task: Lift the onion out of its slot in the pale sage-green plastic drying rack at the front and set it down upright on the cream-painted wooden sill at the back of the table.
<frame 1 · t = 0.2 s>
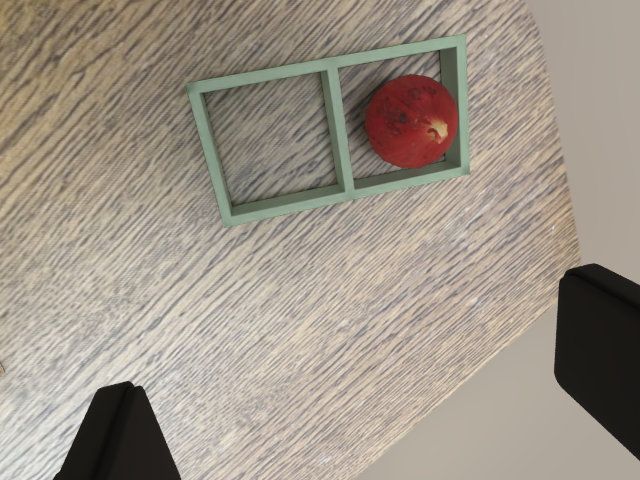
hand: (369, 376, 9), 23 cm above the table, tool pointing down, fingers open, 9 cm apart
drying rack: (333, 129, 30), on the table
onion: (390, 117, 31), resting in drying rack
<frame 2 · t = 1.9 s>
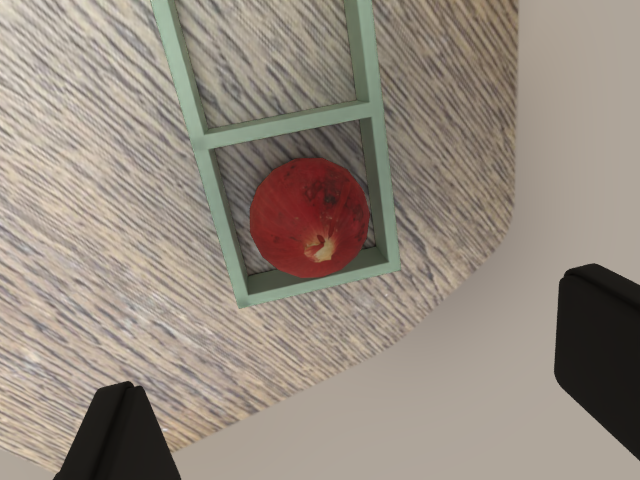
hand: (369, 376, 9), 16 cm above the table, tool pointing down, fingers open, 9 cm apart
drying rack: (285, 121, 22), on the table
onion: (299, 197, 24), resting in drying rack
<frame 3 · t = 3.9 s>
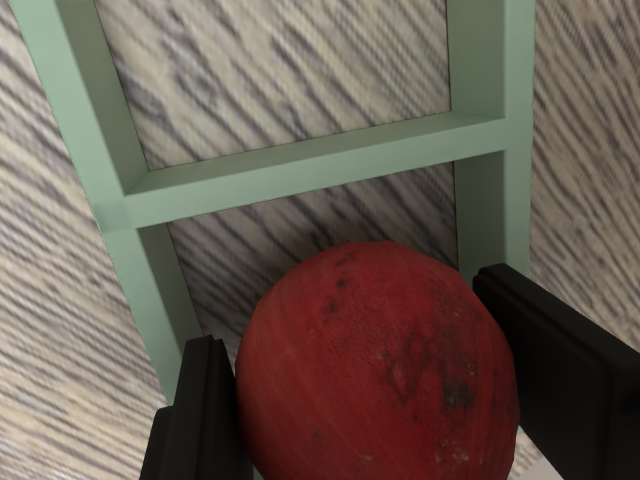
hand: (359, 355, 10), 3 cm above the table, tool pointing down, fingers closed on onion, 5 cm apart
drying rack: (308, 153, 11), on the table
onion: (332, 292, 13), resting in drying rack, touching gripper
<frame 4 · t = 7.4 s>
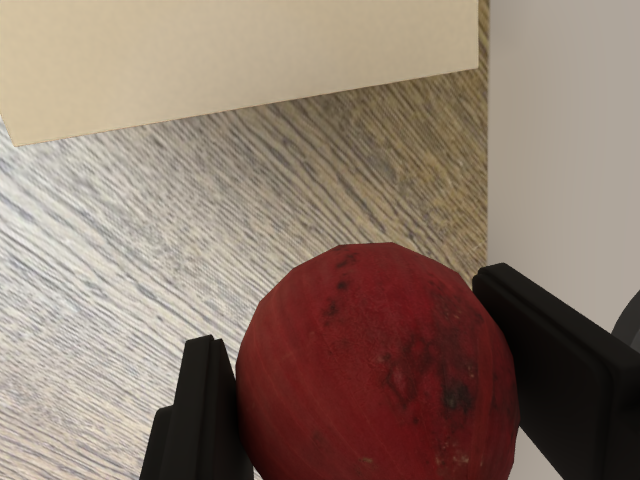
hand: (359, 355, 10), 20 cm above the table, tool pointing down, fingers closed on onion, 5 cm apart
windowsill: (236, 4, 24), on the table
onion: (332, 294, 13), point 16 cm above the table, touching gripper
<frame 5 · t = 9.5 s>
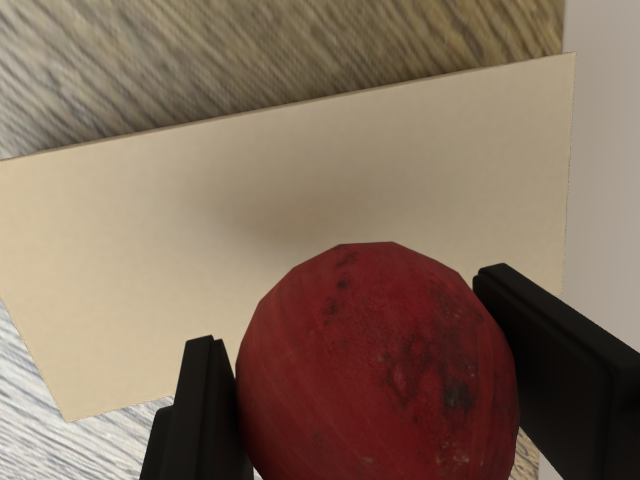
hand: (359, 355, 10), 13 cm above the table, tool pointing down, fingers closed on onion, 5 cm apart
windowsill: (290, 203, 22), on the table
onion: (332, 293, 13), point 10 cm above the table, touching gripper
when the fingers open (9 cm above the table, at t = 11.0 s): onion stays where it is, resting on windowsill.
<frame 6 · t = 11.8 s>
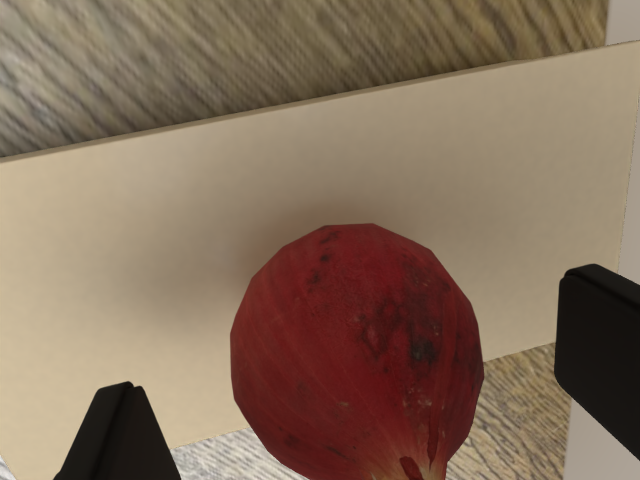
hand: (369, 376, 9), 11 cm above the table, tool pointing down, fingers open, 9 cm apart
windowsill: (292, 218, 19), on the table
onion: (321, 276, 14), point 6 cm above the table, touching windowsill
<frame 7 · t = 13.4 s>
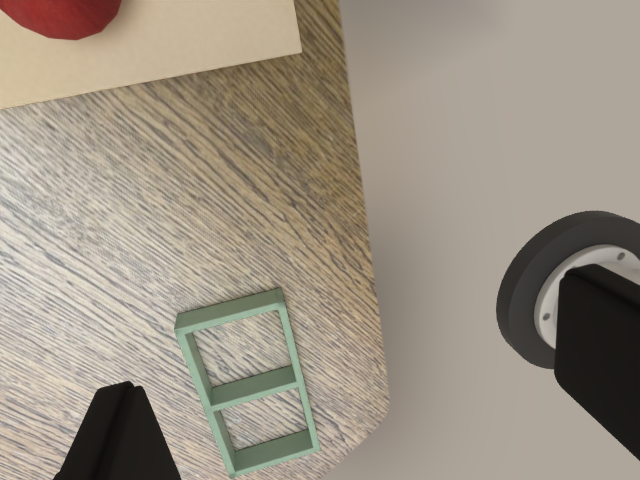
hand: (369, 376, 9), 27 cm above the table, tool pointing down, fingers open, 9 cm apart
windowsill: (107, 2, 28), on the table
drying rack: (253, 378, 41), on the table
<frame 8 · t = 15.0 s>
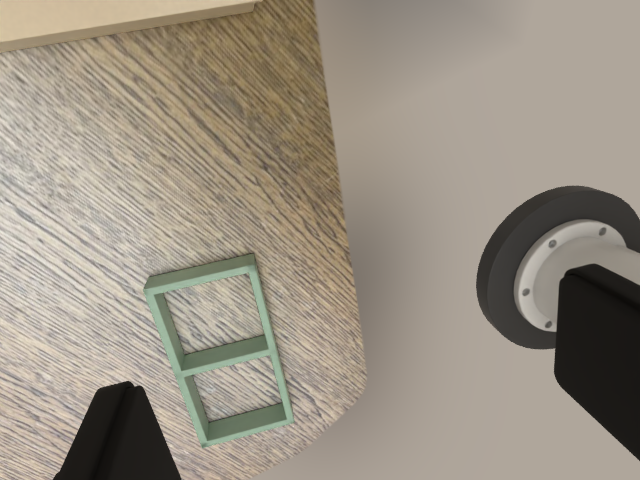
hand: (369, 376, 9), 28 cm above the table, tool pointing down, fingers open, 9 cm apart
drying rack: (227, 347, 41), on the table
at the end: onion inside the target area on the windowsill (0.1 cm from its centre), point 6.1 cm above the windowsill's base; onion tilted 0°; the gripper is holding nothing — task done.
